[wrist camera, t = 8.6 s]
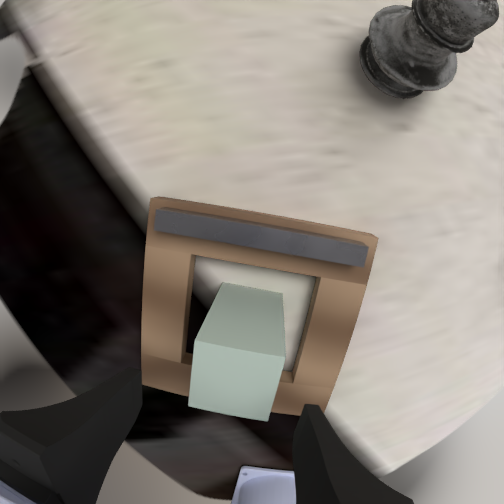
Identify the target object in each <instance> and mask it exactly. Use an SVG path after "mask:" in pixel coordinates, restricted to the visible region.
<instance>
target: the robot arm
mask: <svg viewBox="0 0 504 504" xmlns="http://www.w3.org/2000/svg"><path fill="white" fill-rule="evenodd" d="M141 406H142V371H140V370H137V369H133V368H130V367H129V368H127V369H125V370H124V371H122V372H121V373H119V374H117V375H116V376H114V377H113V378H111V379H109V380H108V381H106V382H104V383H102V384H101V385H99V386H97V387H96V388H94V389H92V390H90V391H88V392H86V393H84V394H82V395H80V396H77V397H75V398H73V399H70V400H67V401H64V402H62V403H58V404H54V405H51V406H47V407H42V408H37V409H31V410H22V411H2V412H1V413H0V504H96V501H97V498H98V495H99V492H100V489H101V487H102V484H103V481H104V479H105V476H106V474H107V471H108V469H109V467H110V464H111V462H112V460H113V458H114V456H115V455H116V452H117V451H118V449H119V448H120V446H121V445H122V443H123V441H124V440H125V438H126V436H127V435H128V433H129V431H130V429H131V428H132V426H133V424H134V423H135V421H136V418H137V416H138V414H139V411H140V409H141ZM293 466H294V471H285V470H275V469H266V468H258V467H250V466H243V467H241V470H240V473H239V477H238V481H237V484H236V488H235V491H234V495H233V499H232V502H231V504H414V503H413V500H412V499H410V498H408V497H406V496H404V495H403V494H401V493H399V492H397V491H395V490H393V489H392V488H390V487H389V486H387V485H386V484H384V483H383V482H382V481H380V480H379V479H377V478H376V477H375V476H374V475H373V474H371V473H370V472H369V471H368V470H367V469H366V468H365V467H363V466H362V465H361V464H360V463H359V461H358V460H357V459H356V458H355V457H354V456H353V455H352V454H351V453H350V452H349V450H348V449H347V448H346V447H345V445H344V444H343V443H342V441H341V440H340V438H339V437H338V435H337V434H336V433H335V431H334V430H333V428H332V426H331V425H330V423H329V422H328V420H327V418H326V417H325V415H324V413H323V411H322V410H321V408H320V406H319V405H314V404H305V405H304V407H303V410H302V413H301V416H300V418H299V421H298V424H297V426H296V429H295V432H294V434H293Z"/></svg>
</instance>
